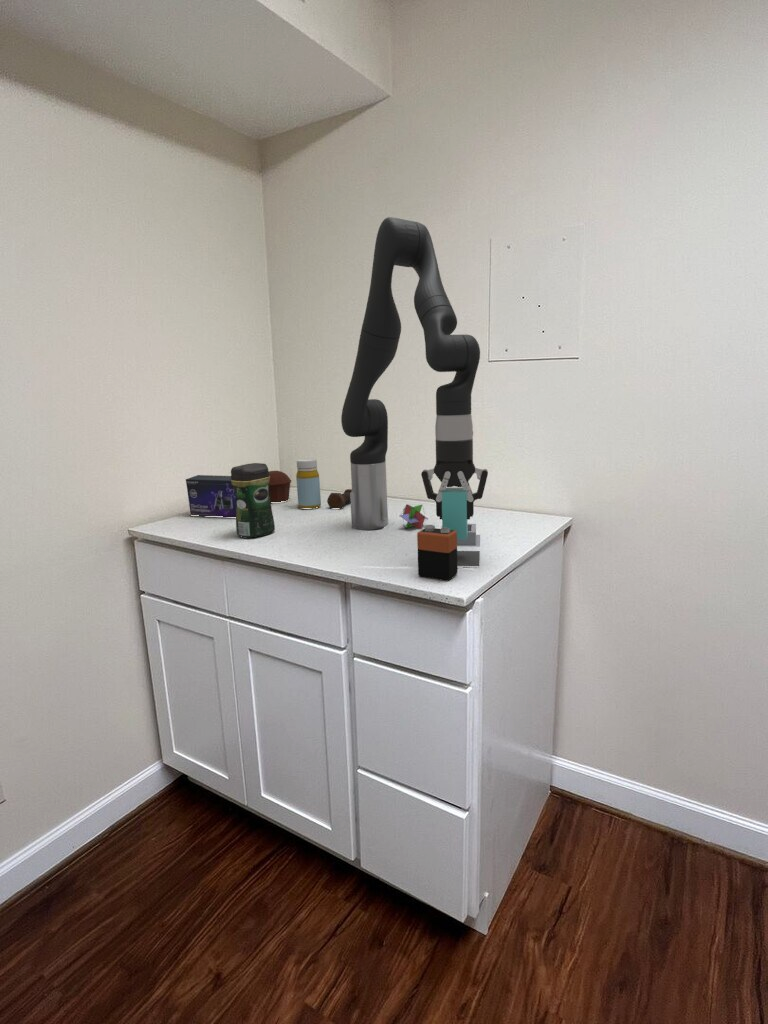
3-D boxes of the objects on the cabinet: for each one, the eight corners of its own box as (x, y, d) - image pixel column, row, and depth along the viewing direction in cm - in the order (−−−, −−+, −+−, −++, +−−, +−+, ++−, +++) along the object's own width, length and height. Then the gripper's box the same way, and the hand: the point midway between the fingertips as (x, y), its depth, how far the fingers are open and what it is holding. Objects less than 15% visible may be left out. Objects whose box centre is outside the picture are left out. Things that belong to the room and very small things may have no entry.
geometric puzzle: (438, 521, 148) (423, 494, 150) (420, 526, 144) (405, 499, 145) (421, 534, 153) (407, 508, 155) (404, 539, 148) (389, 513, 150)
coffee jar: (260, 528, 157) (254, 460, 153) (280, 531, 153) (274, 462, 149) (231, 536, 150) (224, 465, 146) (251, 540, 145) (244, 467, 141)
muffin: (275, 506, 186) (272, 475, 183) (250, 503, 192) (247, 473, 189) (299, 499, 195) (297, 469, 193) (275, 496, 201) (273, 468, 199)
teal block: (442, 539, 120) (441, 492, 118) (444, 533, 125) (443, 487, 122) (466, 539, 119) (466, 492, 117) (467, 533, 124) (467, 487, 122)
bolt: (358, 505, 191) (337, 514, 177) (346, 497, 192) (324, 505, 178) (366, 490, 189) (345, 498, 175) (353, 482, 190) (332, 489, 176)
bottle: (319, 509, 178) (316, 461, 174) (297, 510, 178) (293, 461, 175) (322, 504, 185) (319, 458, 181) (300, 505, 185) (297, 458, 181)
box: (189, 517, 175) (184, 478, 172) (202, 512, 181) (198, 474, 178) (238, 519, 169) (234, 479, 167) (250, 514, 175) (246, 475, 173)
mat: (430, 567, 119) (429, 564, 119) (434, 553, 129) (434, 550, 129) (479, 568, 117) (479, 565, 117) (479, 553, 127) (479, 551, 127)
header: (435, 548, 132) (435, 533, 132) (439, 536, 142) (438, 522, 141) (479, 548, 131) (479, 533, 130) (480, 536, 140) (480, 522, 140)
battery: (427, 570, 117) (426, 522, 115) (458, 574, 114) (457, 525, 112) (417, 576, 114) (416, 527, 112) (449, 581, 110) (448, 531, 108)
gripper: (416, 440, 115) (419, 523, 119) (490, 438, 112) (490, 523, 116) (420, 436, 122) (422, 514, 126) (489, 434, 120) (489, 514, 123)
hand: (455, 518), depth 121 cm, fingers closed on teal block, 5 cm apart
